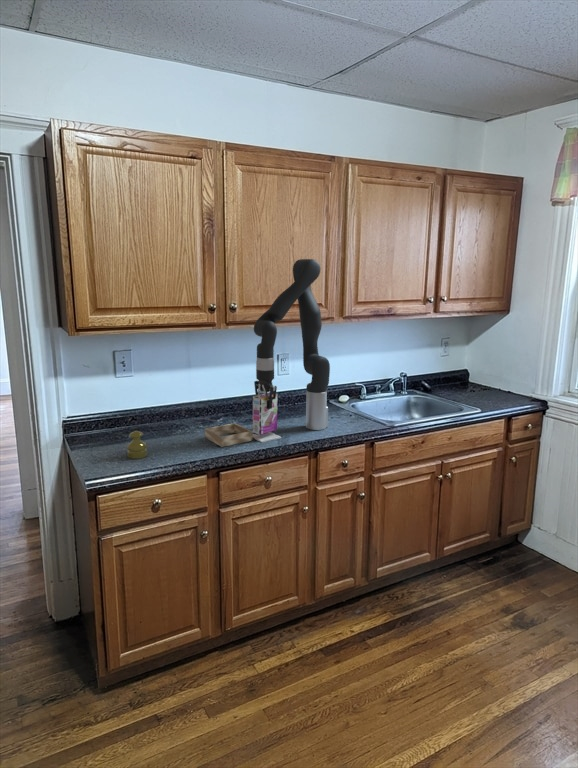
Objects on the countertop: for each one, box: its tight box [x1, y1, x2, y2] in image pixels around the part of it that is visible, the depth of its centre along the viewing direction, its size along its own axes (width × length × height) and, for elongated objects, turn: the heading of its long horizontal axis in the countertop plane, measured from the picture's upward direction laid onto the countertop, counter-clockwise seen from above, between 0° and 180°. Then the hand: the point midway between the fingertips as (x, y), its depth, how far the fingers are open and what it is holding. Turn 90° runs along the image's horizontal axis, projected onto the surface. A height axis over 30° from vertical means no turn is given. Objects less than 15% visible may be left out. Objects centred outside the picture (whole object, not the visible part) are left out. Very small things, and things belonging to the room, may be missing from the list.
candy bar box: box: [251, 392, 279, 435], centre depth 224 cm, size 11×5×16 cm, turn 141°
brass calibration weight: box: [126, 430, 148, 460], centre depth 203 cm, size 7×7×10 cm
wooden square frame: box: [204, 422, 253, 448], centre depth 224 cm, size 15×15×4 cm
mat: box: [252, 431, 282, 443], centre depth 227 cm, size 10×10×1 cm
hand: (265, 406), depth 224 cm, fingers closed on candy bar box, 5 cm apart
